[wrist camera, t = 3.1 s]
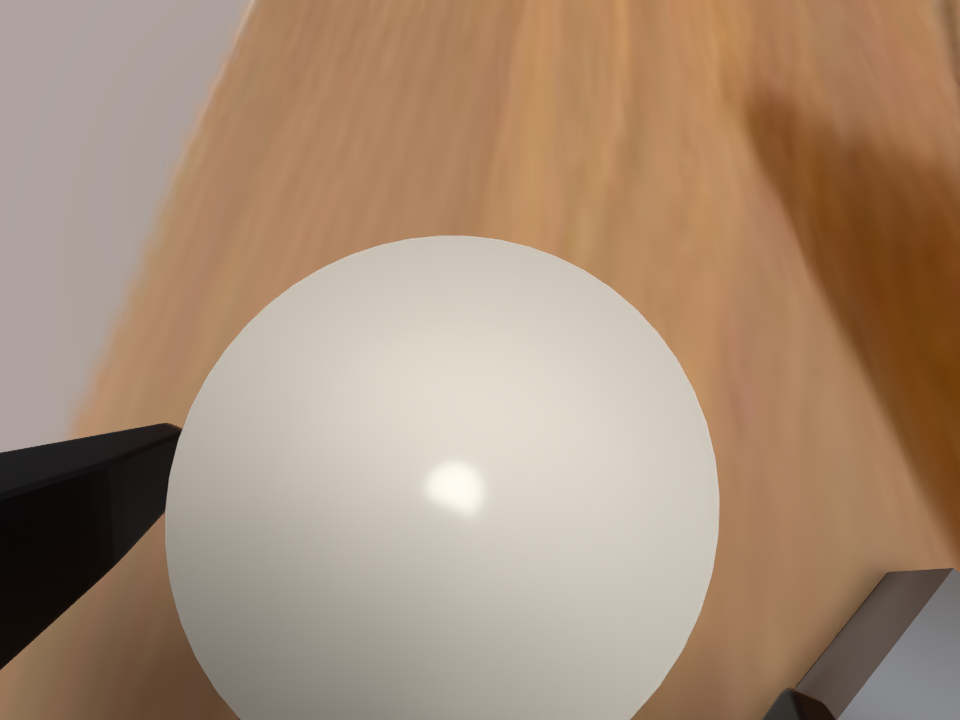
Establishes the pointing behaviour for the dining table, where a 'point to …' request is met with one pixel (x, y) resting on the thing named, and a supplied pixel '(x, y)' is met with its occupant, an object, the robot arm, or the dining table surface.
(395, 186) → the dining table surface
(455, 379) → the cream cylindrical piece
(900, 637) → the grey block
